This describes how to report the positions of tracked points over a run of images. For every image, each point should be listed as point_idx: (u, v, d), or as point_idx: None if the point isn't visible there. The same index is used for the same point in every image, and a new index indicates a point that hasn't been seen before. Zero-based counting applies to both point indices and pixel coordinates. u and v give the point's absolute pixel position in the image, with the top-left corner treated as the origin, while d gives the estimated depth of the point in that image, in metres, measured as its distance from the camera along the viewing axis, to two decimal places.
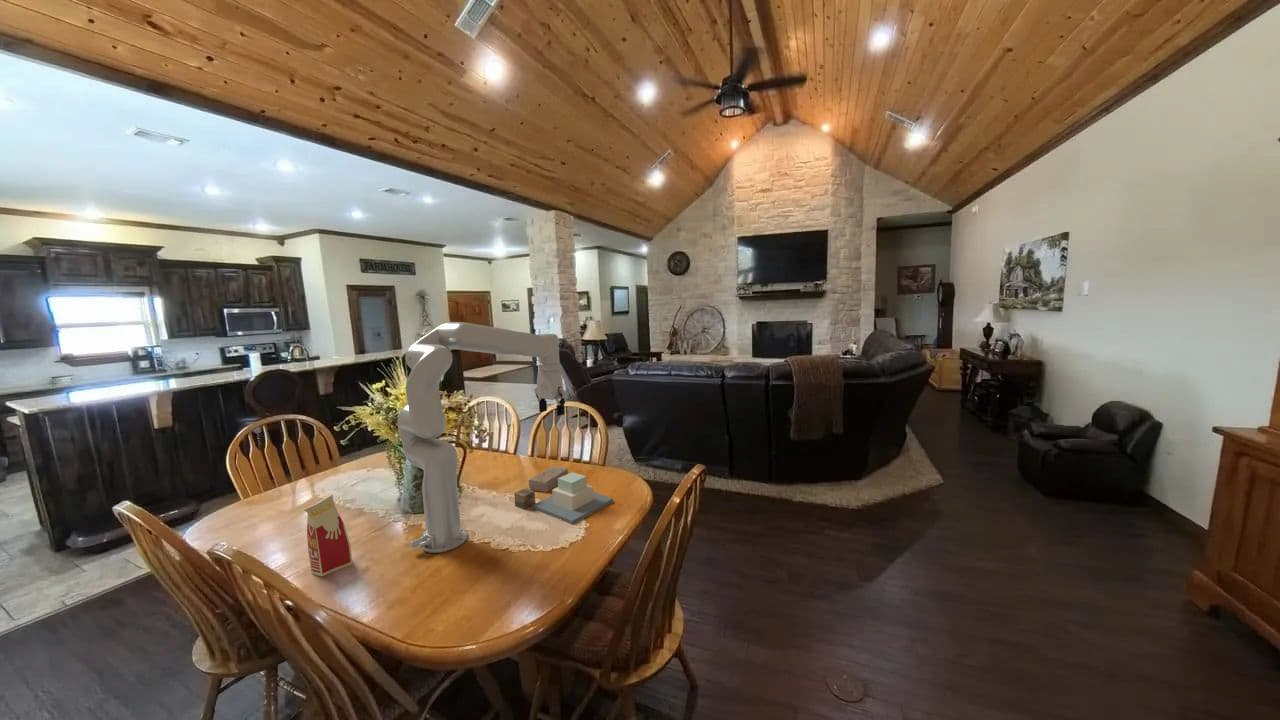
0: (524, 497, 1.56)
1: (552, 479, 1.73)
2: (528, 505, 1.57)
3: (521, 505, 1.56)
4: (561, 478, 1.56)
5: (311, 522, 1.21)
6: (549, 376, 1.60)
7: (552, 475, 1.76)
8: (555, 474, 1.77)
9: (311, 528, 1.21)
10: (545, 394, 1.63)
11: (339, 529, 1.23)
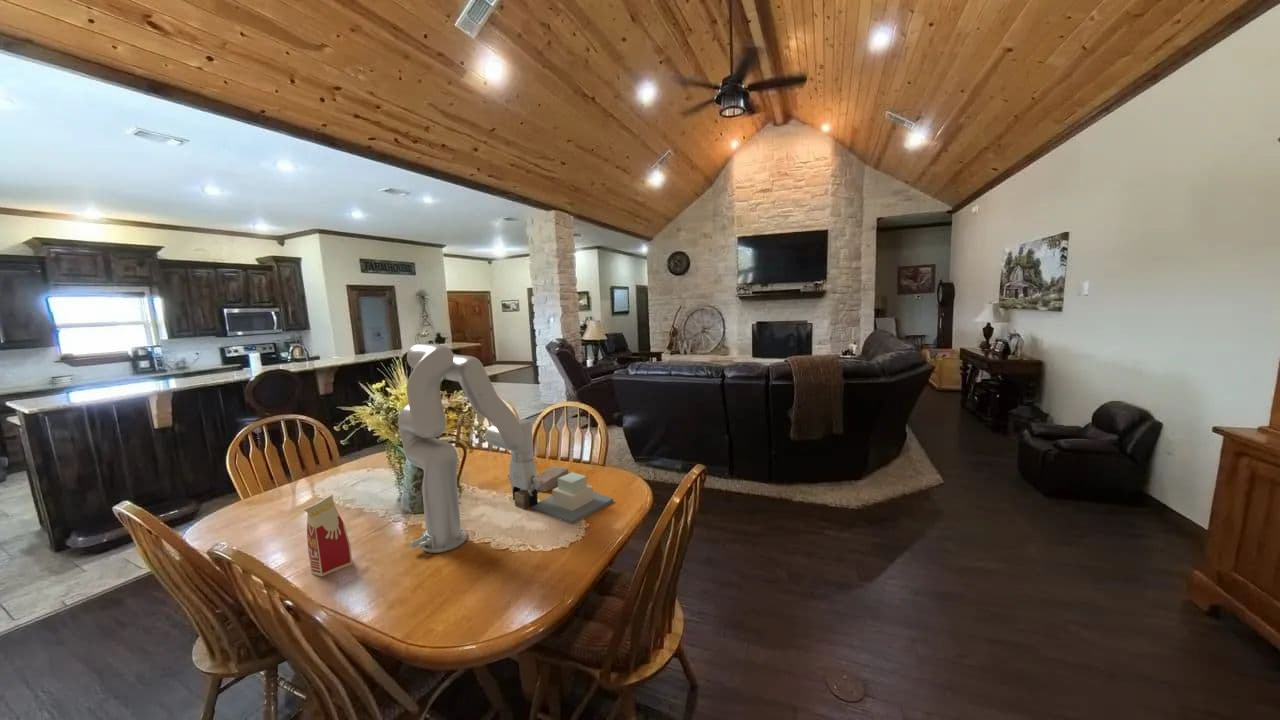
0: (524, 497, 1.56)
1: (552, 479, 1.73)
2: (528, 505, 1.57)
3: (521, 505, 1.56)
4: (561, 478, 1.56)
5: (311, 522, 1.21)
6: (522, 465, 1.53)
7: (552, 475, 1.76)
8: (555, 474, 1.77)
9: (311, 528, 1.21)
10: (518, 483, 1.55)
11: (339, 529, 1.23)
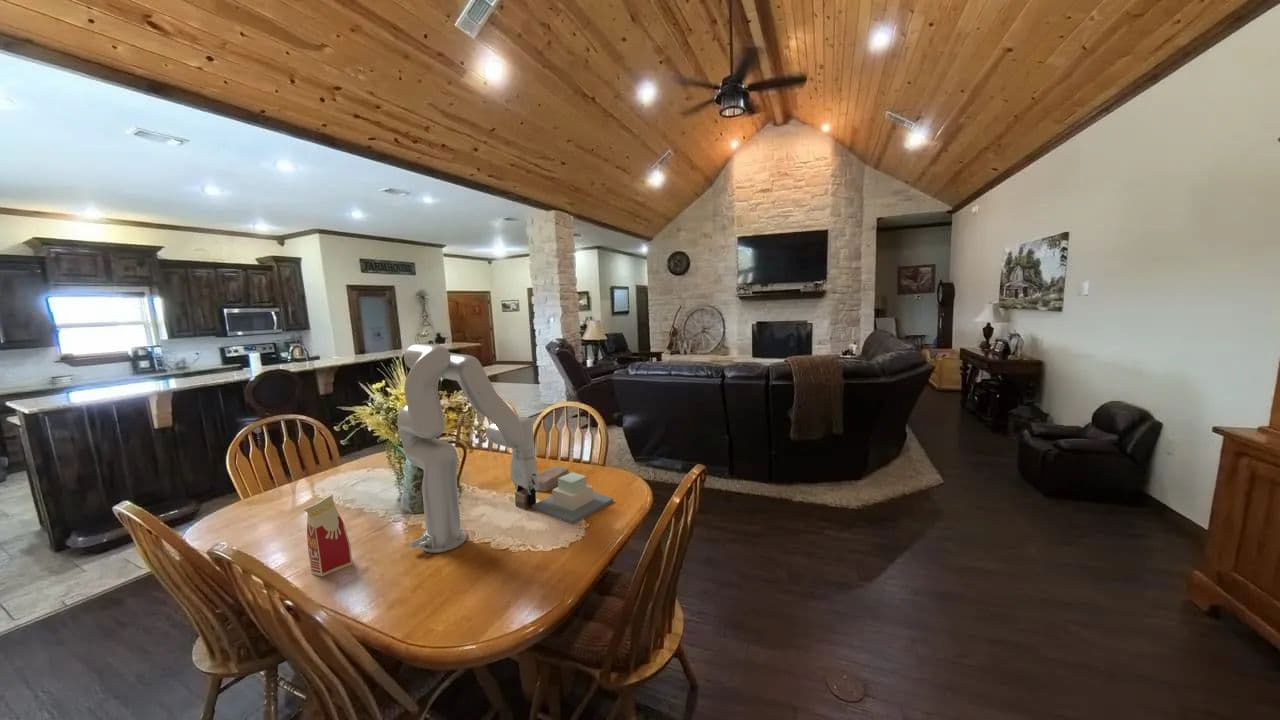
0: (525, 497, 1.55)
1: (551, 479, 1.73)
2: None
3: (521, 505, 1.56)
4: (561, 478, 1.56)
5: (311, 522, 1.21)
6: (523, 463, 1.53)
7: (552, 475, 1.76)
8: (555, 474, 1.77)
9: (311, 528, 1.21)
10: (519, 481, 1.55)
11: (339, 529, 1.23)
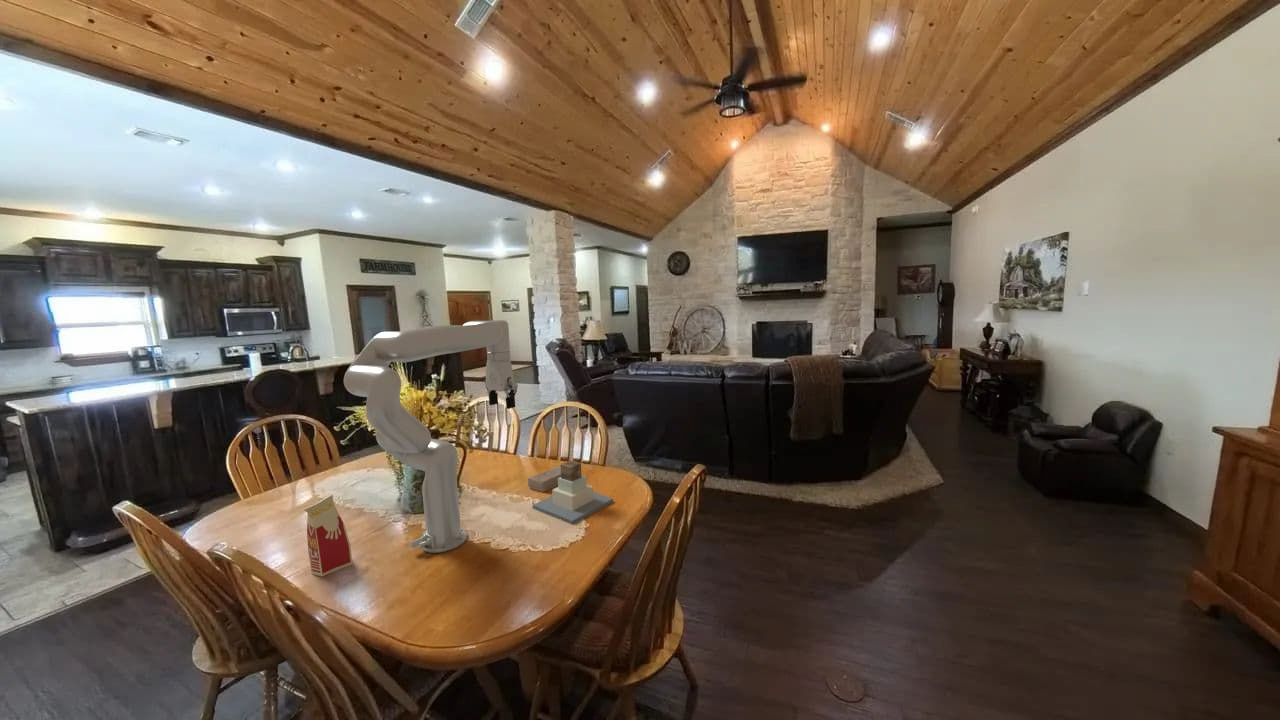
0: (572, 469, 1.53)
1: (550, 479, 1.72)
2: (575, 476, 1.55)
3: (568, 477, 1.54)
4: (561, 478, 1.56)
5: (311, 522, 1.21)
6: (498, 365, 1.48)
7: (552, 475, 1.76)
8: (555, 474, 1.76)
9: (311, 528, 1.21)
10: (494, 385, 1.50)
11: (339, 529, 1.23)
